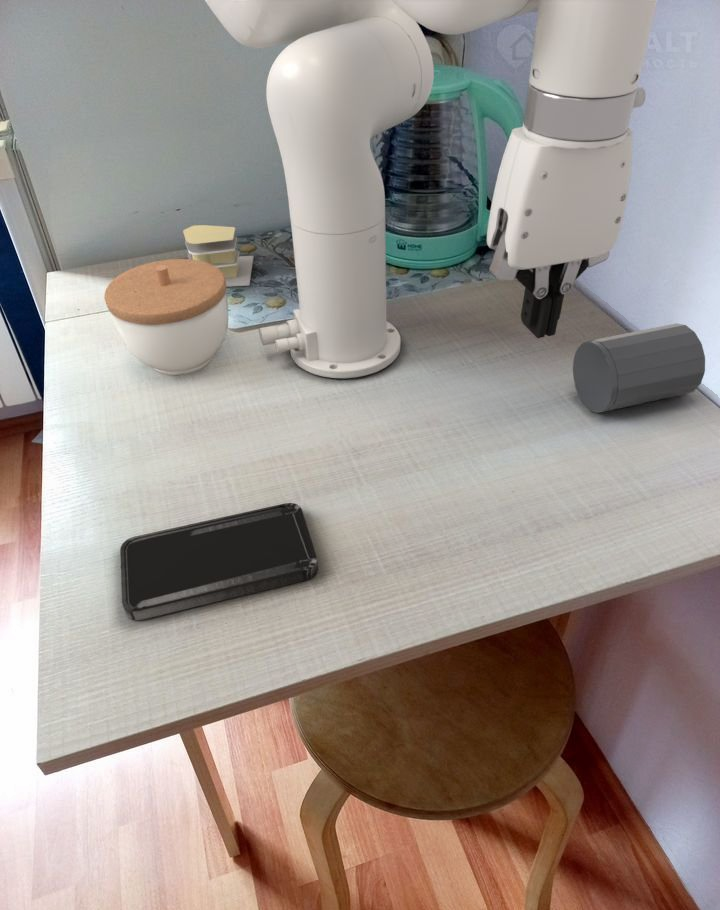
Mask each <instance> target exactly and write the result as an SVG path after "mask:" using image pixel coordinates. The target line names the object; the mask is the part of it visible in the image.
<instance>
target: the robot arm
mask: <svg viewBox="0 0 720 910" xmlns="http://www.w3.org/2000/svg"><path fill="white" fill-rule="evenodd" d="M204 3H206V5H207V6H208V7H209V9H210V10H211V12H212V13H213V14H214V16H215V17H216V19H217V20H218V21H219V22H220V24H221V25H222V26H223V27H224V29H225V30H226V31H227V33H229V35H230V36H231V37H232V38H233V39H234V40H235V41H237V43H239V44H241V45H242V46H244V47H247V48H249V49H259V50H260V49H261V50H262V49H269V48H273V47H278V46H282V45H286V44H287V46H286V47H285V48H284V49H283V50H282V51H281V52H280V53H279V54H278V55H277V57H276V58H275V60H274V61H273V63H272V65H271V67H270V70H269V73H268V75H267V79H266V80H267V81H266V86H265V87H266V89H265V91H266V92H265V94H266V105H267V110H268V114H269V119H270V123H271V126H272V129H273V133H274V135H275V140H276V142H277V145H278V149H279V154H280V157H281V162H282V167H283V170H284V171H283V172H284V178H285V185H286V191H287V193H286V194H287V200H288V201H287V202H288V209H289V218H290V226H291V228H290V229H291V236H292V247H293V257H294V267H295V277H296V285H297V286H296V287H297V295H298V297H297V298H298V306H299V308H297V309H293V310H292V312H293V319H289V320H286V321H285V323H284V324H280V325H279V324H278V325H270V326H266V327H264V326H263V327H259V328H258V334H259V338H260V343H261V345H262V346H268V345H273V344H275V348H276V352H277V353H283V352H288V351H290V356H291V359H292V360H293V362H294V363H295V364H296V366H298V367H299V368H301V369H303V370H304V371H305V372H308V373H311V374H313V375H315V376H320V377H323V378H332V379H352V378H361V377H365V376H369V375H372V374H375V373H378V372H380V371H382V370H383V369H386V368H387V367H388V366H390V365H391V364H392V363H393V362H395V360H396V359H397V358H398V356H399V354H400V352H401V342H402V341H401V335H400V332H399V331H398V329H397V328H396V327H395V325H393V324H392V323H390V322H389V321H387V256H386V255H387V254H386V253H387V252H386V251H387V250H386V249H387V247H386V245H387V243H386V240H387V239H386V195H385V193H386V192H385V185H384V181H383V177H382V173H381V171H380V168H379V166H378V164H377V163H376V160H375V157H374V155H373V152H372V147H371V139H372V138H374V137H376V136H377V135H379V134H381V133H383V132H384V131H387V130H390V129H391V128H394V127H396V126H398V125H400V124H402V123H404V122H405V121H407V120H409V119H410V118H412V117H414V116H415V115H416V114H417V113H418V112H420V111H421V109H422V108H423V107H424V106H425V104H426V103H427V102H428V100H429V98H430V95H431V93H432V89H433V85H434V78H435V69H434V67H435V66H434V60H433V56H432V52H431V48H430V46H429V43H428V41H427V38H426V37H425V34H424V33H423V31H422V28H421V27H420V25H422V26H423V27H425V28H426V29H428V30H430V31H433V32H436V33H440V34H443V35H462V34H467V33H469V32H473V31H476V30H479V29H482V28H484V27H486V26H488V25H492V24H494V23H497V22H499V21H505V20H509V19H513V18H516V17H520V16H523V15H526V14H530V13H537V17H536V24H535V31H534V32H535V33H534V38H533V39H534V41H533V47H532V54H531V61H530V70H529V77H528V84H527V92H526V98H525V99H526V101H525V105H524V106H525V107H524V113H523V114H524V115H523V121H522V126H519V127H515V128H513V129H511V132H510V135H509V138H508V139H507V140H508V141H507V142H506V146H505V149H504V152H503V154H502V158H501V161H500V162H501V163H500V166H499V169H498V172H497V177H496V181H495V184H494V185H495V186H494V191H493V195H492V199H491V204H490V205H491V206H490V211H489V217H488V223H487V230H486V245H487V246H488V248H489V249H491V250H493V251H494V253H493V257H492V260H491V263H490V265H489V269H488V270H489V274H491V275H492V276H493V277H494V278H495V280H497V281H502V282H503V281H505V282H519V283H520V284H521V285H522V286H523V287H524V292H523V293H524V294H523V300H522V306H521V313H520V320H521V322H522V325H524V326H525V328H527V330H528V331H530V332H531V334H532V335H534V337H535V338H536V339H541V338H544V337H545V336H547V337H551V336H555V335H556V331H557V326H558V323H559V322H558V321H559V320H560V317H561V314H562V313H561V312H562V308H563V302H564V297H565V295H568V294H569V293H571V291H572V290H573V288H574V285H575V282H576V280H577V279H578V278H579V277H580V276H581V275H582V274H583V273H584V272H585V271H586V270H587V269H588V268H592V267H594V266H597V265H599V264H601V263H603V262H605V261H607V259H608V258H609V257H610V252H611V250H613V248H614V247H615V246H616V243H617V242H618V238H619V235H620V233H621V229H622V224H623V220H624V216H625V211H626V206H627V200H628V196H629V195H628V194H629V188H630V182H631V173H632V163H633V162H632V160H633V131H632V130H631V128H629V126H630V122H631V118H632V113H633V110H634V109H635V108H640V107H642V106H643V105H644V103H645V100H646V91H645V89H644V88H643V87H641V86H638V85H639V81H640V77H641V74H642V73H641V72H642V67H643V64H644V59H645V55H646V51H647V48H648V47H647V46H648V43H649V38H650V34H651V30H652V25H653V21H654V17H655V13H656V7H657V4H658V0H204ZM289 43H290V44H289Z"/></svg>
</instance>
